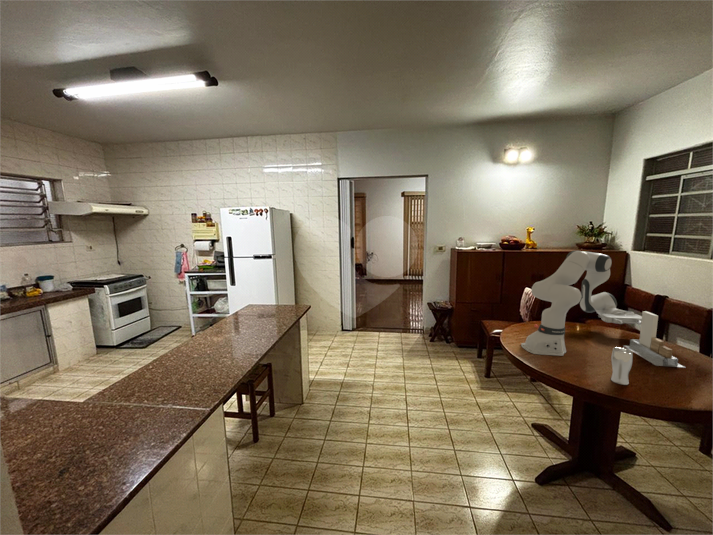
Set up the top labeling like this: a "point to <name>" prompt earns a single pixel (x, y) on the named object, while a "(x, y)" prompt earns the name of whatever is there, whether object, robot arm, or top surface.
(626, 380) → the beer glass
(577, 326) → the top surface
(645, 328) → the tall panel
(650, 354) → the slot rack
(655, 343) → the tall offcut
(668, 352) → the short offcut
